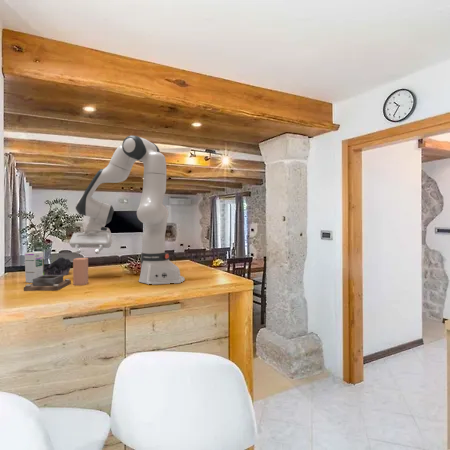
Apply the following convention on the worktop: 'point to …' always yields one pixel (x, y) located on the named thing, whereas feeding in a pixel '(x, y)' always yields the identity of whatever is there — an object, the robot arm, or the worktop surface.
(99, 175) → the robot arm
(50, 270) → the crystal cluster
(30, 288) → the walnut base board
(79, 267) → the terracotta tower block
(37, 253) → the syrup box
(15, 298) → the worktop surface
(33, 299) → the worktop surface
